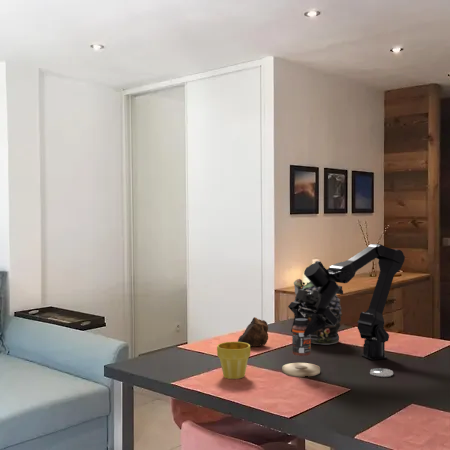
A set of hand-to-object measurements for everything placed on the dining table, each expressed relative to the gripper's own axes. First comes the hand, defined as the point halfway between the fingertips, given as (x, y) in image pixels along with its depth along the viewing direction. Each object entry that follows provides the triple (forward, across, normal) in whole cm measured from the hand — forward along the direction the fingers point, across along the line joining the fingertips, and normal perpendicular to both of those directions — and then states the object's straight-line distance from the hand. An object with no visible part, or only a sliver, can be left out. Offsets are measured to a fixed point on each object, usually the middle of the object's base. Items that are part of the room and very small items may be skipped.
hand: (298, 334), depth 184 cm
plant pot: (+23, -7, -6) cm, 24 cm away
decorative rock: (+3, -38, +15) cm, 40 cm away
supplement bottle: (+4, 0, +6) cm, 7 cm away
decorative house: (-14, -30, +33) cm, 47 cm away
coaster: (+8, 0, +9) cm, 12 cm away
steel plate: (-6, +16, +23) cm, 29 cm away
